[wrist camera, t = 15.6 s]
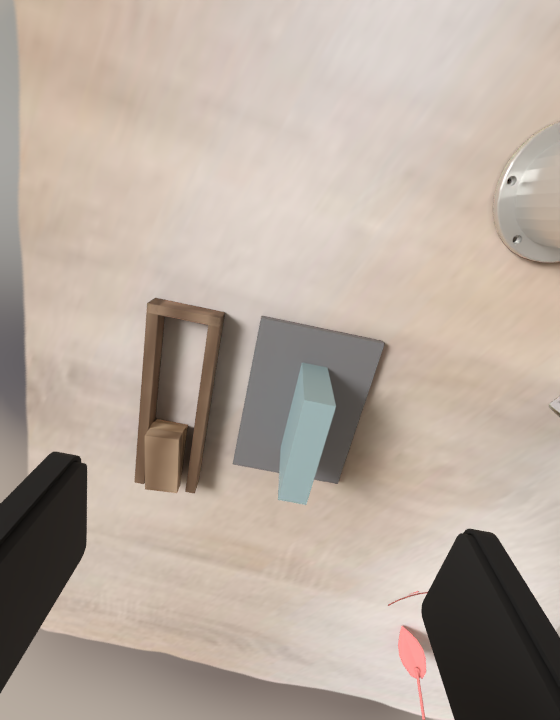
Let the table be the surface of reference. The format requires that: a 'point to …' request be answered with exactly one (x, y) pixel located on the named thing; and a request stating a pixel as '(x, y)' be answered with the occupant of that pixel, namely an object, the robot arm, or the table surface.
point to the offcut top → (163, 460)
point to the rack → (152, 370)
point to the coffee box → (555, 406)
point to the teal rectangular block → (305, 433)
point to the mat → (278, 382)
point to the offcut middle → (170, 428)
